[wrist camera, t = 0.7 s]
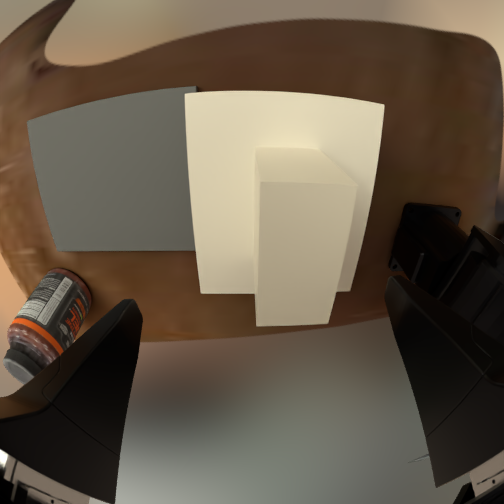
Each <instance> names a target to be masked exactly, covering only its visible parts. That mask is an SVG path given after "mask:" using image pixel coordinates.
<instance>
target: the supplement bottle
mask: <svg viewBox="0 0 504 504" xmlns="http://www.w3.org/2000/svg"><path fill="white" fill-rule="evenodd" d="M90 307H91V295H90V292H89V290H88V288H87V286H86V285H85V284H84V283H83V281H82V280H81V279H80V278H79V277H78V276H76V275H75V274H74V273H72V272H70V271H68V270H66V269H61V268H58V269H52V270H51V271H49V272H48V273H47V274H46V276H45V277H44V278H43V279H42V281H41V282H40V283H39V284H38V286H37V287H36V288H35V290H34V291H33V293H32V294H31V295H30V297H29V298H28V300H27V301H26V303H25V304H24V306H23V307H22V308H21V310H20V311H19V313H18V314H17V316H16V317H15V320H14V321H13V322H12V324H11V325H10V327H9V329H8V333H7V336H8V342H9V344H10V349H9V350H7V353H6V356H5V357H4V360H3V363H4V366H5V368H6V369H7V370H8V371H9V372H10V373H11V375H12V376H14V377H15V378H16V379H17V380H18V381H20V382H21V383H23V384H24V385H25V384H26V383H27V382H29V381H30V380H31V379H32V378H34V377H35V376H36V375H37V374H39V373H40V372H41V371H42V370H43V369H45V368H46V367H47V366H48V365H49V364H50V363H51V362H53V361H54V360H55V359H56V358H57V357H58V356H59V355H61V353H62V352H64V351H65V350H66V349H67V348H68V347H69V346H70V345H71V344H73V342H74V339H75V337H76V335H77V333H78V331H79V329H80V327H81V326H82V324H83V321H84V319H85V318H86V316H87V314H88V312H89V309H90Z"/></svg>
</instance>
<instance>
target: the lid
mask: <svg viewBox="0 0 504 504" xmlns="http://www.w3.org/2000/svg"><path fill="white" fill-rule="evenodd" d="M383 115H384V105H383V104H378V103H373V102H368V101H363V100H357V99H350V98H343V97H336V96H327V95H318V94H308V93H295V92H277V91H214V92H196V93H187V94H185V119H186V140H187V157H188V172H189V185H190V198H191V209H192V220H193V230H194V239H195V249H196V257H197V266H198V274H199V282H200V290H201V293H207V294H255V306H256V326H288V325H312V324H328V321H329V318H330V314H331V310H332V307H333V303H334V299H335V295H336V292H340V291H350V289H351V285H352V281H353V278H354V274H355V270H356V266H357V262H358V258H359V254H360V250H361V246H362V242H363V237H364V233H365V228H366V224H367V219H368V214H369V209H370V204H371V199H372V193H373V188H374V182H375V176H376V170H377V163H378V156H379V149H380V142H381V133H382V125H383Z"/></svg>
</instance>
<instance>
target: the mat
mask: <svg viewBox="0 0 504 504" xmlns="http://www.w3.org/2000/svg"><path fill="white" fill-rule="evenodd" d="M196 92H197V86H192V87H181V88H171V89H162V90H154V91H147V92H141V93H134V94H128V95H123V96H118V97H112V98H108V99H103V100H98V101H94V102H90V103H86V104H82V105H78V106H74V107H70V108H67V109H63V110H60V111H57V112H53V113H50V114H47V115H44V116H41V117H38V118H35V119H32V120H29V121H27V125H28V133H29V140H30V147H31V153H32V158H33V164H34V169H35V173H36V178H37V183H38V187H39V191H40V195H41V199H42V203H43V207H44V210H45V214H46V217H47V221H48V224H49V227H50V230H51V233H52V237H53V240H54V243H55V245H56V248H57V251H196V249H195V239H194V230H193V220H192V209H191V198H190V185H189V172H188V157H187V140H186V119H185V94H187V93H196Z"/></svg>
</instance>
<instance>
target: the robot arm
mask: <svg viewBox="0 0 504 504" xmlns="http://www.w3.org/2000/svg"><path fill="white" fill-rule="evenodd" d="M410 208H412V209H411V210H410V211H409V209H410ZM460 216H461V210H460V209H459V208H457V207H449V206H440V205H431V204H420V203H407V204H406V205H405V207H404V211H403V215H402V219H401V223H400V227H399V229H398V232H397V235H396V239H395V243H394V246H393V249H392V255H391V258H390V261H389V265H388V266H389V268H390V270H391V271H404V272H405V274H406V275H407V277H408V278H409V280H410V281H411V282H410V281H408V280H407V279H405V278H404V277H402V276H400V275H396V276H390V277H389V278H388V282H387V286H386V291H385V302H386V306H387V310H388V313H389V317H390V321H391V325H392V329H393V332H394V336H395V339H396V342H397V345H398V348H399V351H400V354H401V356H402V359H403V362H404V365H405V368H406V371H407V374H408V377H409V381H410V384H411V387H412V390H413V393H414V397H415V400H416V404H417V407H418V411H419V414H420V418H421V422H422V425H423V430H424V434H425V437H426V442H427V447H428V451H429V456H430V460H431V465H432V470H433V476H434V481H435V486H436V488H438V487H440V486H442V485H444V484H447V483H449V482H451V481H453V480H455V479H457V478H459V477H461V476H463V475H465V474H467V473H470V477H471V482H469V483H467V484H465V485H463V486H462V488H461V490H460V492H459V494H458V496H457V497H456V499H455V501H454V503H453V504H504V243H502V242H501V241H500V240H498V239H497V238H495V237H493V236H492V235H490V234H489V233H487V232H485V231H484V230H482V229H480V228H478V227H477V226H475V225H474V226H473V228H472V229H471V234H470V236H468V235H467V234H466V233H465V232H464V231H462V230H461V229H460V228H459V227H458V223H459V219H460ZM393 265H394V266H393ZM413 283H415V284H416V285H415V284H413ZM142 323H143V317H142V314H141V312H140V310H139V308H138V306H137V304H136V302H135V300H133V299H124V300H122V301H121V302H120V303H119V304H118V305H116V306H115V307H114V308H113V309H112V310H110V311H109V312H108V313H107V314H106V315H105V316H103V317H102V318H101V319H100V320H99V321H98V322H96V323H95V324H94V325H93V326H92V327H91V328H90V329H88V330H87V331H86V332H85V333H84V334H83V335H82V336H80V337H79V338H78V339H77V340H76V341H75V342H74V343H73V344H71V345H70V346H69V347H68V348H67V349H66V350H65V351H64V352H62V353H61V355H59V356H58V357H57V358H56V359H55V360H54V361H53V362H51V363H50V364H49V365H48V366H47V367H46V368H45V369H43V370H42V371H41V372H40V373H39V374H37V375H36V376H35V377H34V378H32V379H31V380H30V381H29V382H27V383H26V384H25V385H24V386H23V387H21V388H20V389H19V390H17V391H16V392H15V393H13V394H11V395H9V396H6V397H0V504H88V503H89V498H90V497H92V498H95V499H98V500H101V501H103V502H106V503H109V504H115V496H116V486H117V477H118V468H119V460H120V452H121V445H122V438H123V431H124V425H125V419H126V414H127V408H128V403H129V398H130V392H131V387H132V383H133V378H134V373H135V368H136V364H137V359H138V353H139V346H140V338H141V330H142Z"/></svg>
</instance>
